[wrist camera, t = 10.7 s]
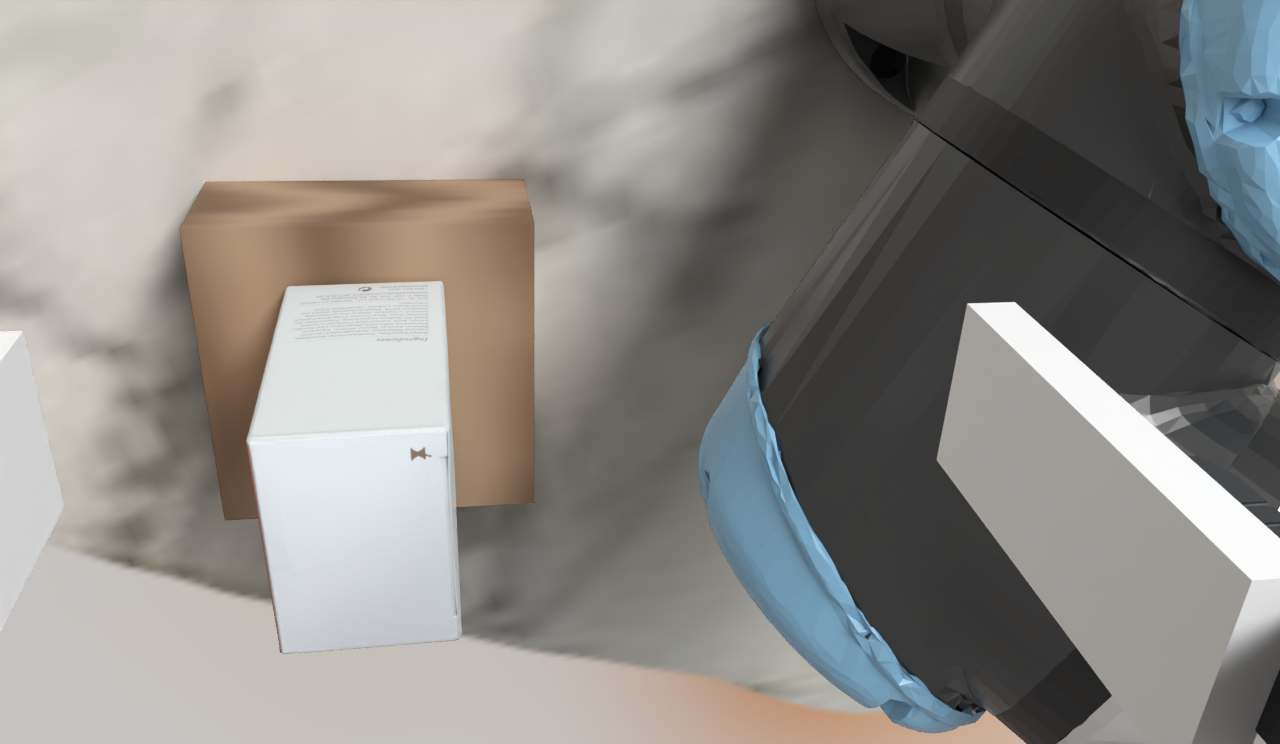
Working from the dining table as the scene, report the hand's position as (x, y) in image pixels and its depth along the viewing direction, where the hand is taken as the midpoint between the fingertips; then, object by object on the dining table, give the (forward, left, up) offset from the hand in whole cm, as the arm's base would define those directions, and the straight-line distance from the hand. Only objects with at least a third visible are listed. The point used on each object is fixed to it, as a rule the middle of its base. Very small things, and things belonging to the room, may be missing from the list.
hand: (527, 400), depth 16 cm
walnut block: (+4, +12, -29) cm, 31 cm away
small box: (+4, +12, -24) cm, 27 cm away
